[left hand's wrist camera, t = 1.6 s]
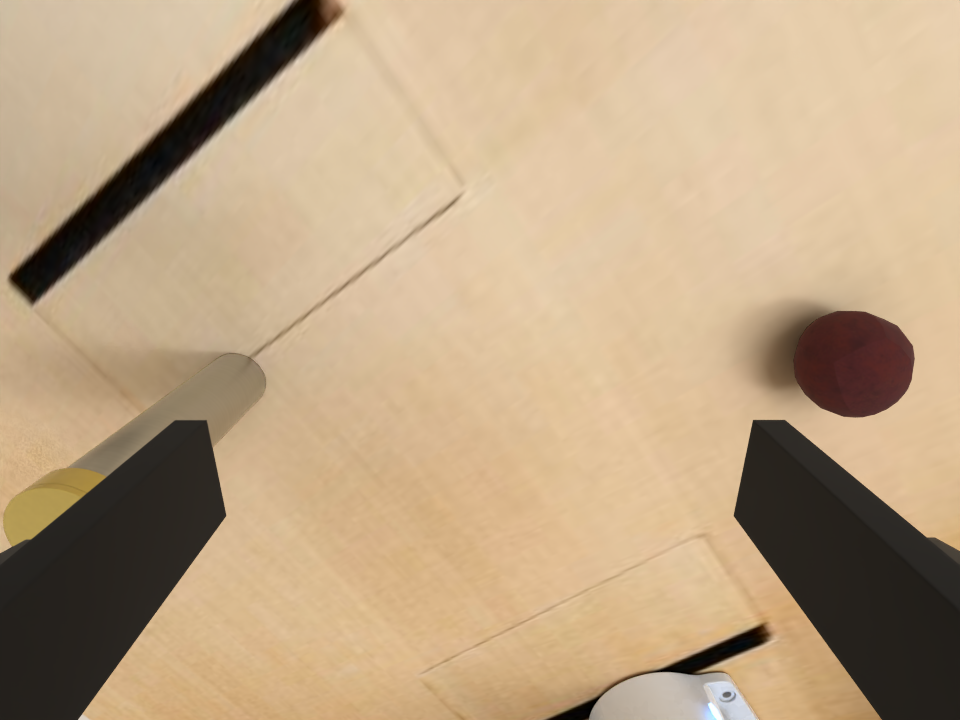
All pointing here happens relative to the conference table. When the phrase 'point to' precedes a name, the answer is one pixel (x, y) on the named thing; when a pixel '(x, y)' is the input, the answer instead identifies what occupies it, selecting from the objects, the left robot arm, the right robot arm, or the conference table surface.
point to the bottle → (186, 410)
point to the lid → (46, 501)
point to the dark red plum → (853, 363)
